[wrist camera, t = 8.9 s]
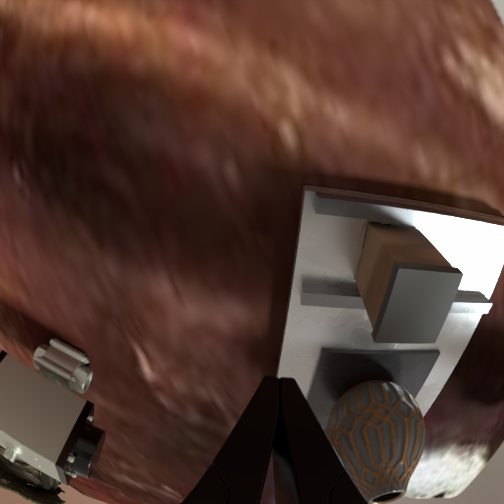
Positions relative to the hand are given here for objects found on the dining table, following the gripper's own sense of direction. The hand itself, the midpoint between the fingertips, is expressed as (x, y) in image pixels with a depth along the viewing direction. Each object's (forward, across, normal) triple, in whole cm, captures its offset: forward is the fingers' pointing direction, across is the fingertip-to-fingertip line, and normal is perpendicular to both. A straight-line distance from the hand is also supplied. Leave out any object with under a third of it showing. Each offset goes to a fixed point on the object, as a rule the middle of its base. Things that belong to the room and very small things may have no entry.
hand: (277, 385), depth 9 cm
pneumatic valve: (+11, +17, +13) cm, 24 cm away
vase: (+9, -8, +12) cm, 17 cm away
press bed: (+10, -8, +6) cm, 15 cm away
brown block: (+9, -6, 0) cm, 11 cm away
